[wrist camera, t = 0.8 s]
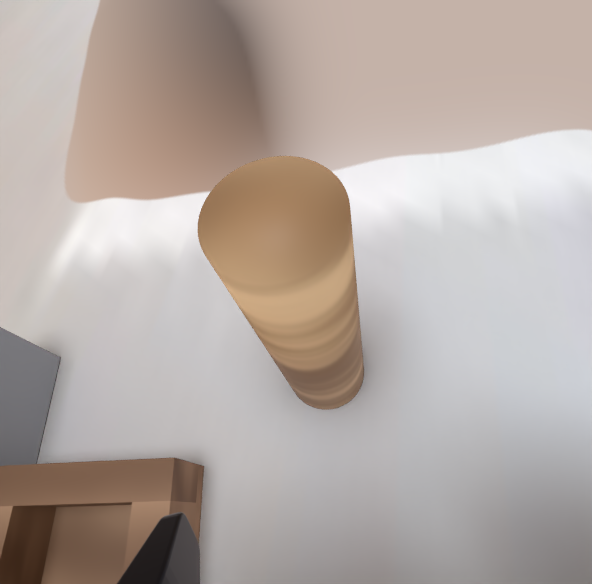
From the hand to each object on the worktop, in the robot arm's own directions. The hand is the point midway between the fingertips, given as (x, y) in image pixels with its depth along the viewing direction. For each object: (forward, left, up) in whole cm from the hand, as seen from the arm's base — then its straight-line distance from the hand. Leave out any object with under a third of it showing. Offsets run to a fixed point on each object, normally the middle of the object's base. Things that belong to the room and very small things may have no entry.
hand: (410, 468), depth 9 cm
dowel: (+6, +3, -14) cm, 15 cm away
